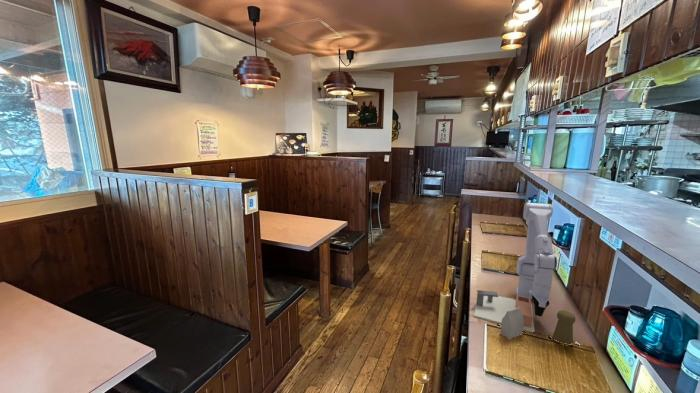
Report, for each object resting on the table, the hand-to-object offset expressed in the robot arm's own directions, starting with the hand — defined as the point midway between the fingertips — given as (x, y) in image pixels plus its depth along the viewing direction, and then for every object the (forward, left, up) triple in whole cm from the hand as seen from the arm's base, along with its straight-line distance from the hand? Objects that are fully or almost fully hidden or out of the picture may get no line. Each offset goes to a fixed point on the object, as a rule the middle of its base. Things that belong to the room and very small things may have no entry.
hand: (538, 315), depth 113 cm
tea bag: (+15, -9, -3) cm, 17 cm away
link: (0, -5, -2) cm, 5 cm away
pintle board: (-1, -12, -2) cm, 12 cm away
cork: (+10, +7, -3) cm, 12 cm away
